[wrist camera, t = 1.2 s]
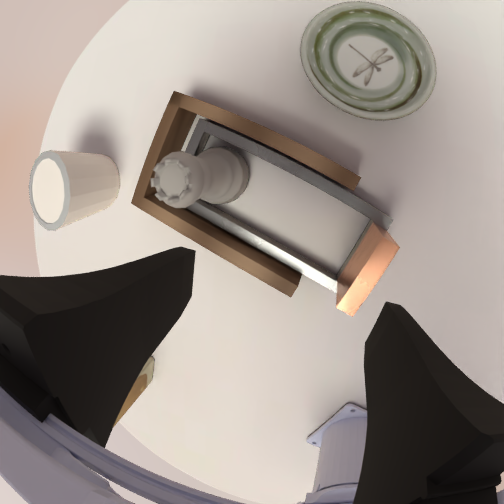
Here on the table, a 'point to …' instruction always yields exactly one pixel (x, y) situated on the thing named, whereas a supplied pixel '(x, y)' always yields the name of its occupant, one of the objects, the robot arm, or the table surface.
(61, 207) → the shot glass
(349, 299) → the frame
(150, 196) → the walnut lane
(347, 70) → the saucer
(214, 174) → the rook chess piece
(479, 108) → the table surface
